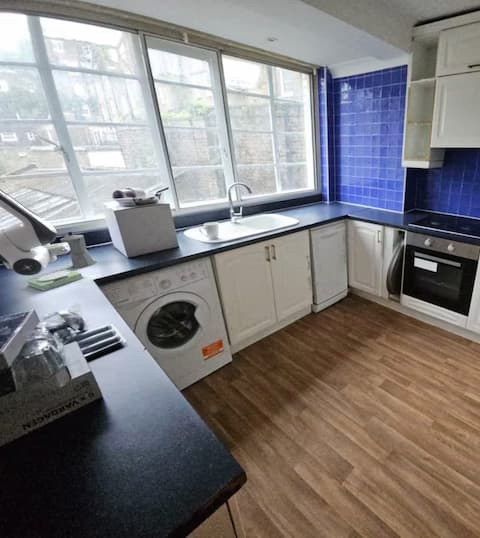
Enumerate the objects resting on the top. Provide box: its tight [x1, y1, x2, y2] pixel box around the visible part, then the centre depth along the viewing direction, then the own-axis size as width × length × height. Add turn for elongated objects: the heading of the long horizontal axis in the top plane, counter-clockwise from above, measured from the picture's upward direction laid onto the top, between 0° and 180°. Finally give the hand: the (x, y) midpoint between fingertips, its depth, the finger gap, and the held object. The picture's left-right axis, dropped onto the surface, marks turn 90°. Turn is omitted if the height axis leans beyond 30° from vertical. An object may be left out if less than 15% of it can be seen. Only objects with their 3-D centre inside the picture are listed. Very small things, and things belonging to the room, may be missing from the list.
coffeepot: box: [60, 231, 95, 269], centre depth 153 cm, size 15×9×18 cm, turn 67°
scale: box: [26, 268, 83, 292], centre depth 136 cm, size 14×14×3 cm
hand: (39, 248), depth 129 cm, fingers closed on can, 7 cm apart
